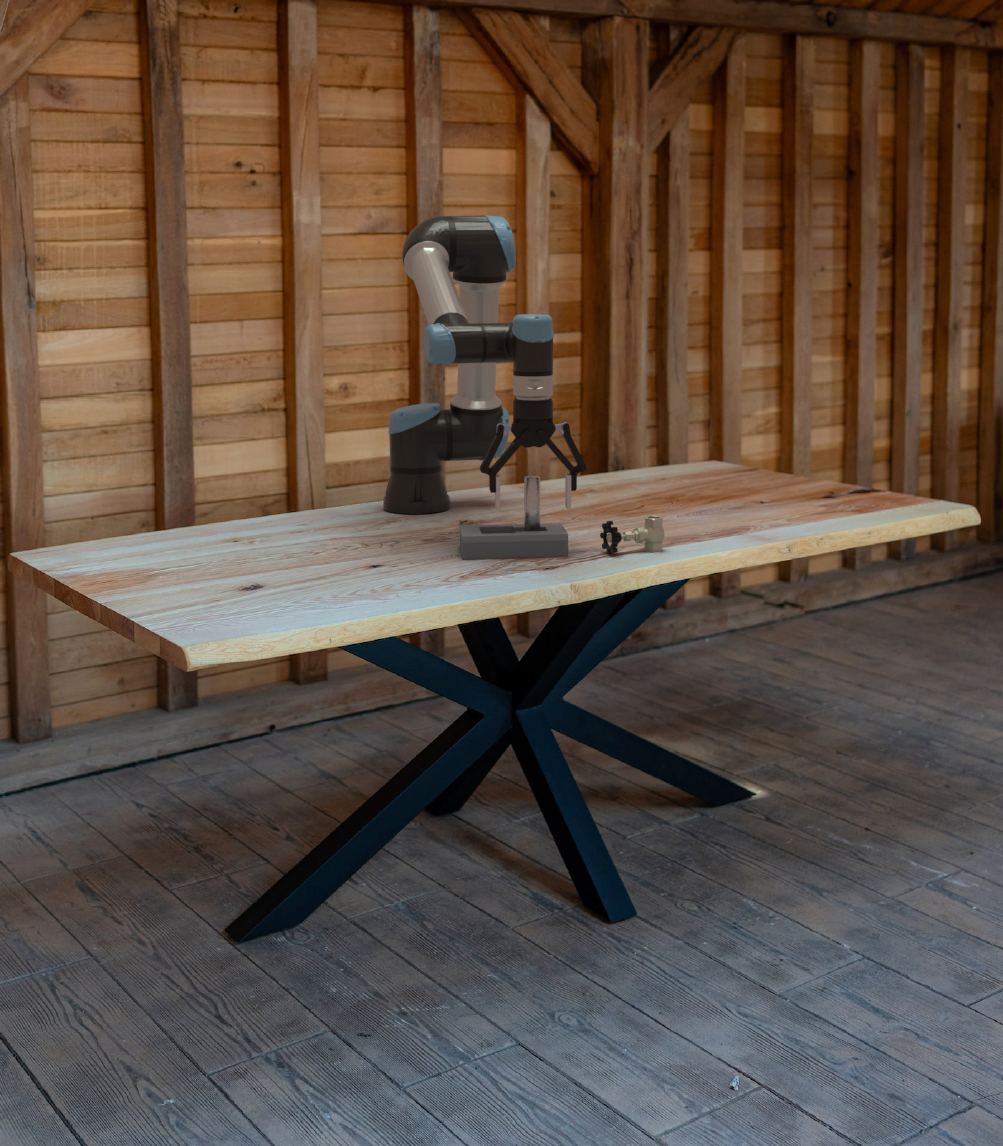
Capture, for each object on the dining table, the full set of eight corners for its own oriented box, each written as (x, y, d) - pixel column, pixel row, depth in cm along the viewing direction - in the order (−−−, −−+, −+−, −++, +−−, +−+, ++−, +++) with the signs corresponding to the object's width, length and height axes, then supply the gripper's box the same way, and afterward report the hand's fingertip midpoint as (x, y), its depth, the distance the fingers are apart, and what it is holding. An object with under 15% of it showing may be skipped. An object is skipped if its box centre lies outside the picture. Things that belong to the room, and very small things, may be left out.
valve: (654, 546, 265) (599, 551, 261) (655, 513, 264) (599, 518, 259) (671, 553, 259) (614, 558, 255) (671, 519, 258) (615, 524, 253)
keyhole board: (463, 559, 254) (462, 536, 253) (459, 547, 265) (459, 525, 264) (568, 556, 256) (568, 533, 255) (560, 544, 267) (560, 522, 266)
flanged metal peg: (513, 546, 260) (513, 477, 257) (529, 542, 264) (529, 474, 261) (535, 550, 257) (534, 480, 254) (551, 545, 261) (551, 476, 258)
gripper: (468, 400, 250) (469, 513, 255) (601, 398, 252) (600, 510, 257) (465, 396, 257) (467, 506, 262) (595, 394, 259) (594, 503, 264)
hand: (533, 508), depth 259 cm, fingers open, 13 cm apart
